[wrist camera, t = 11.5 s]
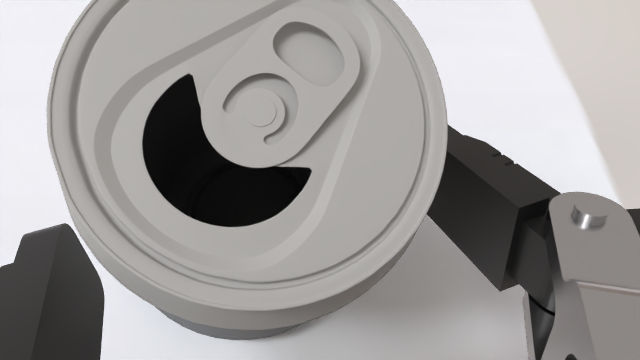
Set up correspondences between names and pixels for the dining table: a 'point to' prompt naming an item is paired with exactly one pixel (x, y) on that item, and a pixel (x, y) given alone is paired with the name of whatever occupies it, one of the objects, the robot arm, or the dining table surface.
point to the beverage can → (247, 150)
